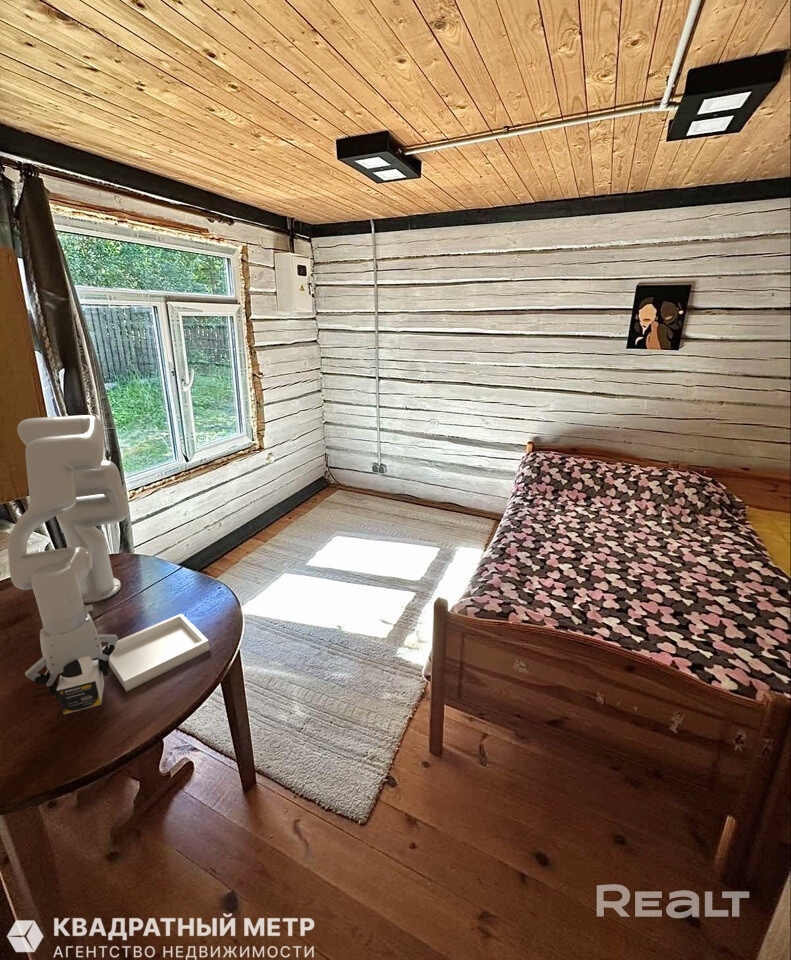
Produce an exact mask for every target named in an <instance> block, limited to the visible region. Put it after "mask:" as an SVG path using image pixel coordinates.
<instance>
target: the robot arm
mask: <svg viewBox="0 0 791 960" xmlns="http://www.w3.org/2000/svg"><path fill="white" fill-rule="evenodd" d="M16 431H17V435H18V437H19V439H20V440H21V442H22V443H23V445H25V446H26V447H25V463H26V475H27V486H28V494H29V506H28V508H27V510H26V511H25V512H23V514H22V515H21V516H20V517H19V519H17V521H16V522H15V524H14V526H13V528H12V530H11V532H10V535H9V538H8V542H7V555H8V556H7V557H8V558H7V559H8V568H9V569H8V570H9V575H10V576H9V577H10V580H11V583H12V584H13V586H14V587H16V588H17V589H18V590H22V591H23V590H24V591H26V590H27V591H28V590H33V594H34V596H35V597H34V598H35V601H36V605H37V607H38V613H39V615H40V619H41V622H42V628H41V629H40V631H39V642H40V649H41V654H42V657H41V658H39V660H37V662H35V663H34V664H33V665H31V666H30V668H29V669H28V670H26V671H25V672H24V675H25V676H26V678H27V679H29V680H31V681H33V682H35V684H40V685H44V686H47V690H48V692H49V696H54V697H55V699H56V700H59V697H58V693H57V686H58V683H57V682H56V679H57V678H58V675H59V674H60V673H62V672H63V668H64V666H66V665H67V664H69V663H71V662H73V661H75V660H77V659H80V658H82V657H87V656H90V658H91V660H94V659H96V658H97V660H99V662H100V666H101V671H102V675H103V676H104V677H108V676H110V673H109V670H110V669H111V668H110V665H109V661H108V660H109V658H110V655H111V653H112V652H113V650H114V649H115V645H116V643H117V641H118V640H119V637H118V636H117V634H104V633H103V634H99V633H98V630H97V628H96V625H95V624H94V620H93V618H92V617H91V615H90V612H92V611H94V606H93V605H92V604H89V605H88V604H87V605H85V604H86V603H95V602H100V601H103V600H106V599H108V598H110V597H112V596H113V595H115V594H117V592H119V590H120V589H121V588H122V587H121V586H122V584H121V581H120V580H119V579H117V578H115V577H114V575H113V568H112V564H111V560H110V556H109V550H108V545H107V540H106V537H105V535H104V533H103V532H102V531H101V530H100V529H98V528H97V527H98V526H103V525H110V524H116V523H120V522H122V521H124V520H125V519H126V518H127V515H128V506H127V504H128V503H127V499H126V496H125V491H124V488H123V487H124V486H123V482H122V478H121V473H120V470H119V469H118V467H117V465H116V464H115V463H114V462H113V461H111V460H106V459H105V460H103V459H104V448H105V447H104V445H105V444H104V442H105V432H104V426H103V424H102V421H101V420H100V419H99V418H98V417H97V416H95V415H92V414H91V415H90V414H85V415H84V414H83V415H82V414H79V415H67V416H65V415H64V416H46V417H33V418H27V419H23V420H21V421H20V422H19V423H18V425H17V427H16ZM55 517H56V520H57V522H58V524H59V527H60V528H61V531H62V533H63V535H64V539H65V542H66V546H67V547H63V548H57V549H50V550H44V551H39V552H38V551H37V552H33V553H28V551H27V547H28V541H29V539H30V537H31V535H32V534H33V533H34V532H35V530H37V529H38V527H40V526H41V525H43V524H44V523H46V522H48V521H49V520H51V519H53V518H55ZM102 643H107V646H106V645H105V646H106V647H105V648H104V650H103V649H102V647H103V645H102ZM44 667H46V669H47V670H46V671H45V672H44V674H43V673H39V672H40V671H41V670H42V669H43V668H44ZM60 675H61V674H60Z"/></svg>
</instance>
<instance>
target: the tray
mask: <svg viewBox="0 0 791 960" xmlns="http://www.w3.org/2000/svg"><path fill="white" fill-rule="evenodd" d="M106 646H107V645H103V646H102V649H103V650H104V648H105V647H106ZM208 651H210V644H209V639H208V638H207V637H206V636H205V635H204V634H203V633H202V632H201V631H200V630H199V629H198V628H197V627H196V626H195V625H194V624H193V623H192V622H191V620H189V619H188V618H187V617H186V616H185V615H184V614H183V613H179V614H177V615H174V616H172V617H170V618H167V619H165V620H162V621H160V622H157V623H155V624H153V625H151V626H148V627H146V628H144V629H142V630H140V631H137V632H135V633H131V634H130V635H127V636H126V637H122V638H121V639H118V640H117V643H116V645H115V649H114V650H113V652H112V653H111V655H110V658H109V660H108V661H109V665H110V669H111V671H112V672H113V674H114V675H115V677H116V678H117V680H118V681H119V683H120V684H121V686H122V687H123V689H124V691H125V692H128V691H131V690H133V689H134V688H137V687H138V686H140V685H142V684H145V683H147V682H149V681H150V680H153V679H155V678H157V677H158V676H161V675H163V674H164V673H166V672H170V670H172V669H175V668H177V667H179V666H180V665H182V664H184V663H187V662H188V661H189V662H190V660H192V659H194V658H196V657H199V656H200V655H202V654H204V653H207V652H208Z"/></svg>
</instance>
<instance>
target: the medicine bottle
mask: <svg viewBox="0 0 791 960" xmlns="http://www.w3.org/2000/svg"><path fill="white" fill-rule="evenodd" d="M104 687H105V679H104V674H103V672H102V671H101V666H100V662H99V659H95V660H94V659H92V660H91V658H90V656H87V657H82V658H80V659H77V660H75V661H73V662H71V663H69V664H67V665H66V666H64V668H63V672H62V673H60V675H59V678H58V683H57V693H58V697H59V699H58V700H59V703H60V707H61V710H62V713H63V715H67V714H71V713H74V712H75V713H76V712H79V711H81V710H82V711H83V710H86V709H89V708H92V707H97V706H100V705H102V700H103V696H104V695H103V694H104V689H105V688H104Z"/></svg>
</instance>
